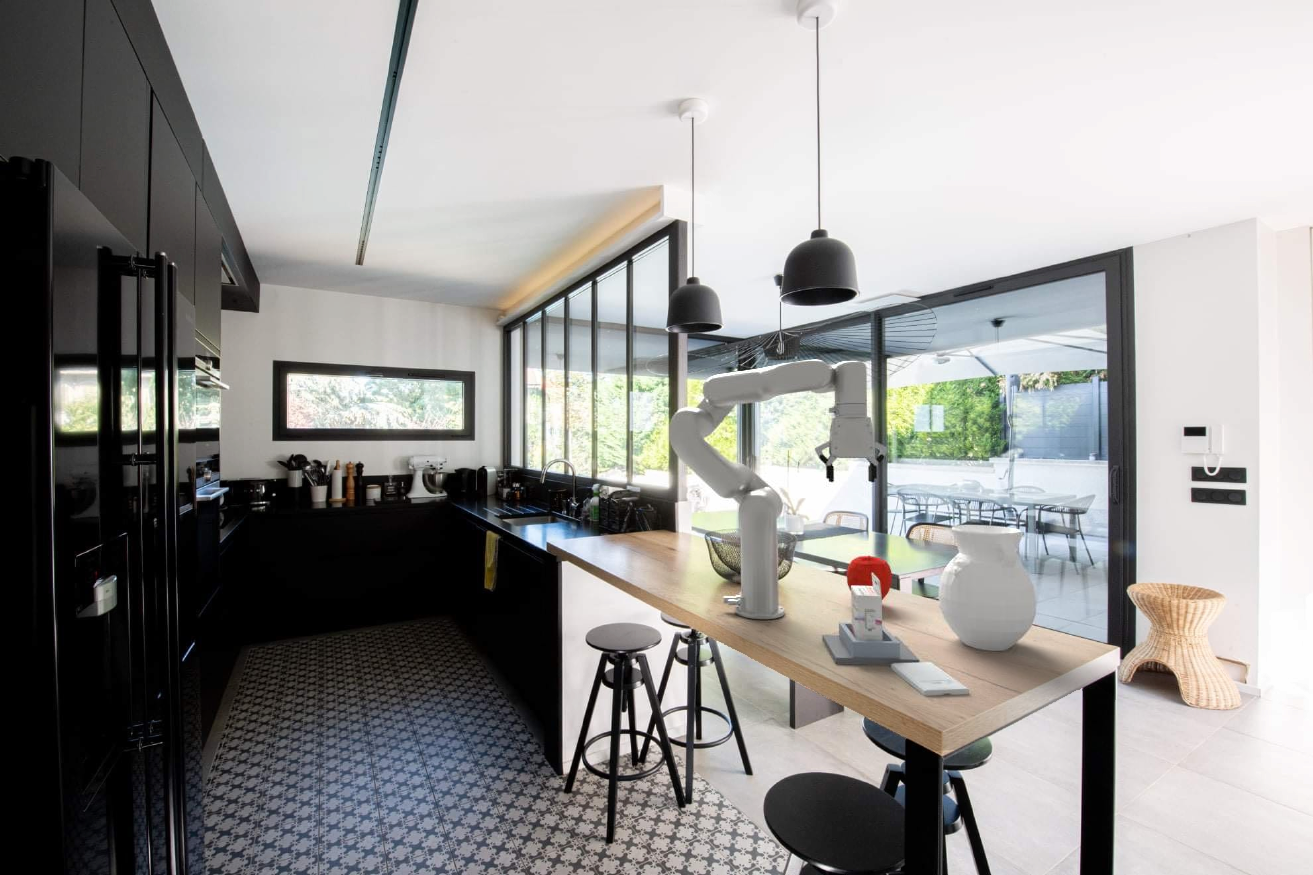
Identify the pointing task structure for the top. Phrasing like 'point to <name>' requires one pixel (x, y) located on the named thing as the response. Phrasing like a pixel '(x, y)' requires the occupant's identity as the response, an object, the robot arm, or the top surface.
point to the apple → (869, 573)
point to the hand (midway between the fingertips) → (851, 481)
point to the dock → (867, 648)
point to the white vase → (987, 588)
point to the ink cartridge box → (867, 611)
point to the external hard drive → (929, 678)
